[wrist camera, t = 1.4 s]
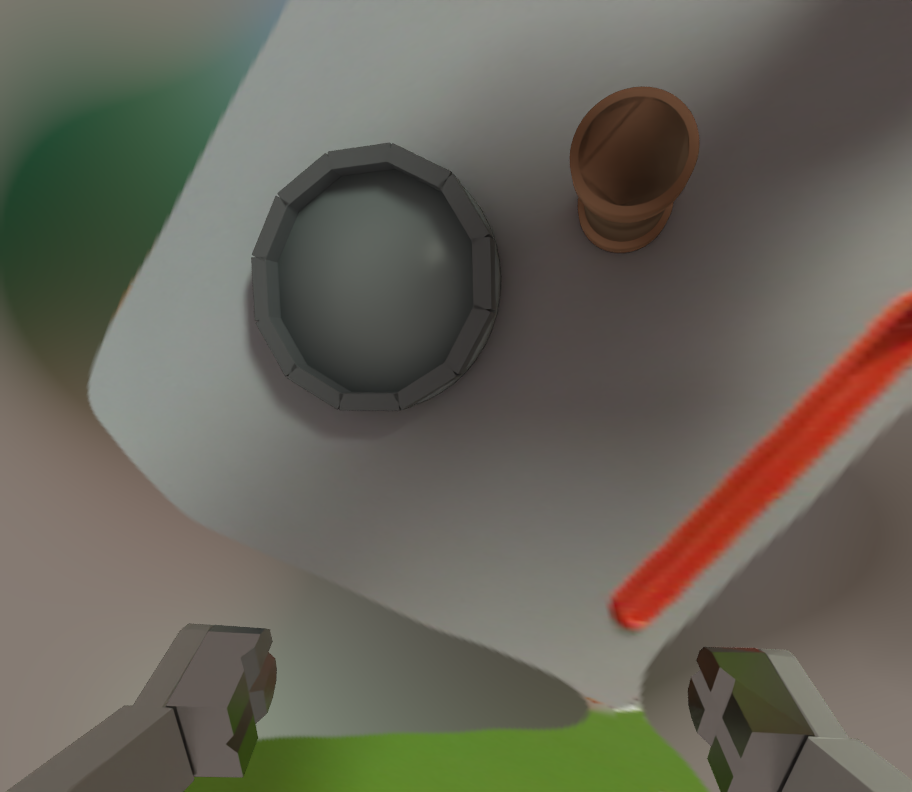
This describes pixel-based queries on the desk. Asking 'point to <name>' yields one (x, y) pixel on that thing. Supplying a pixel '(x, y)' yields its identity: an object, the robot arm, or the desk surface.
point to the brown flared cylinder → (632, 165)
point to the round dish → (375, 279)
